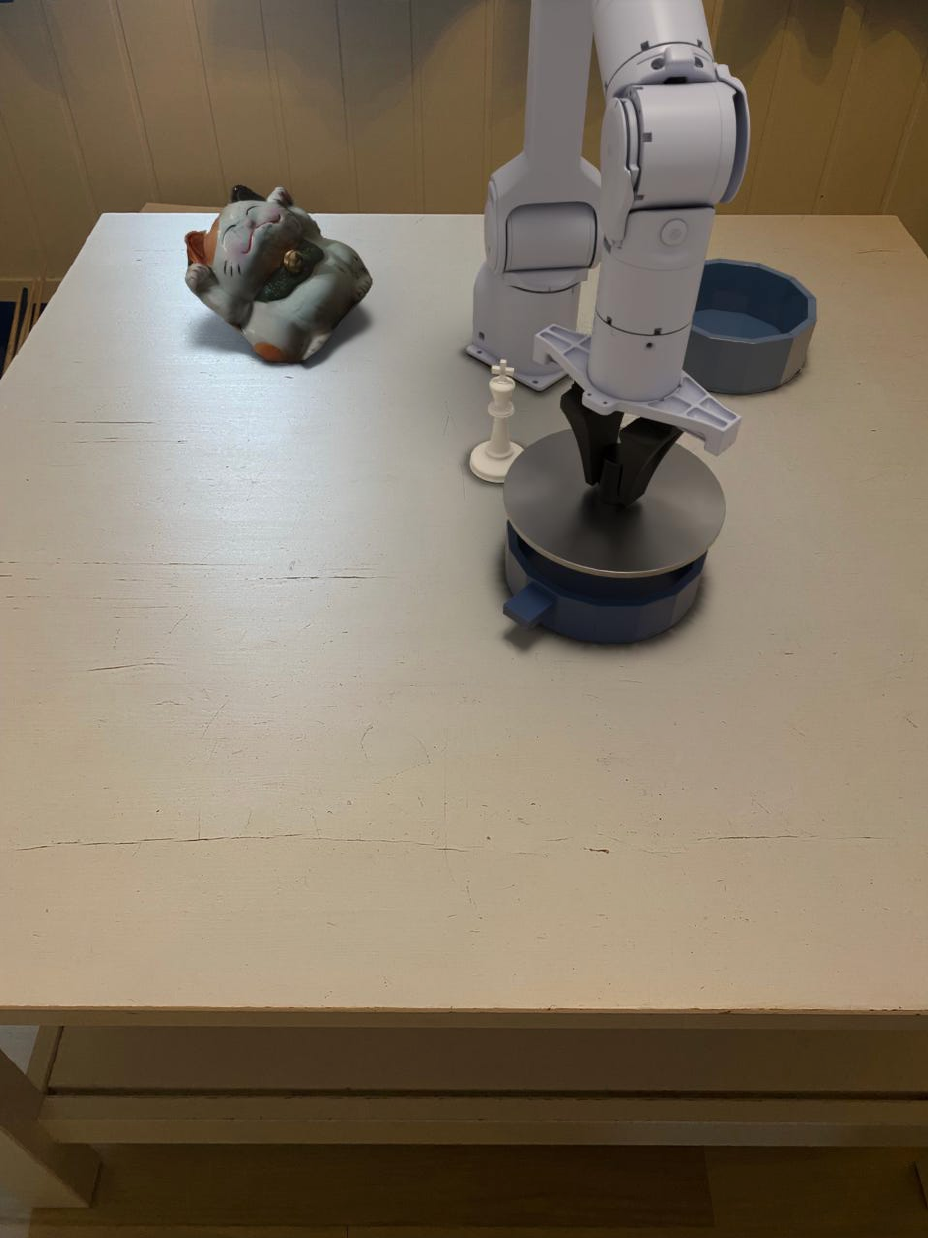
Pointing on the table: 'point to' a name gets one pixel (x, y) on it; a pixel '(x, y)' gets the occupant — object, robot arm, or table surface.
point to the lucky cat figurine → (274, 274)
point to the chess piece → (497, 431)
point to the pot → (748, 328)
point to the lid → (612, 509)
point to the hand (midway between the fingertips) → (614, 487)
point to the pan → (594, 597)
